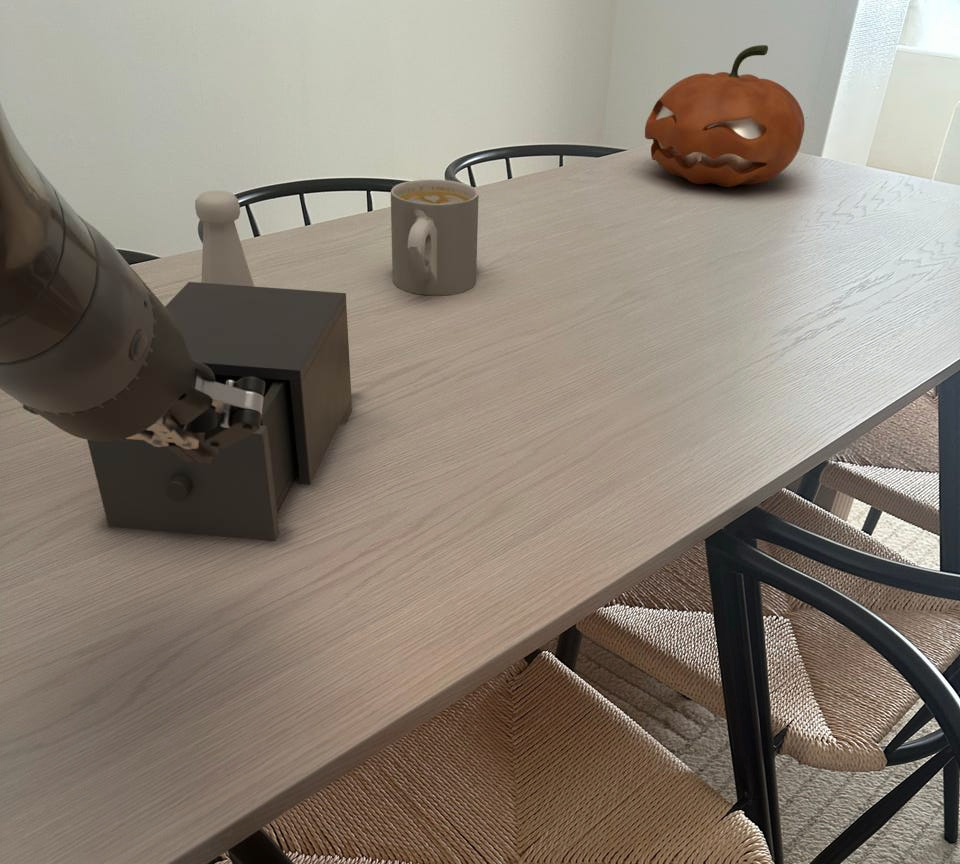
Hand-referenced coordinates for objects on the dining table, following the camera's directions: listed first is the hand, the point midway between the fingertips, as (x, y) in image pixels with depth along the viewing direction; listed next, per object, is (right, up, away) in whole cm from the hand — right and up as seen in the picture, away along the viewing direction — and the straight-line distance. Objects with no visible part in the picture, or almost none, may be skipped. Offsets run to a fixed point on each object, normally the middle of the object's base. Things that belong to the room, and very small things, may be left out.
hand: (201, 446), depth 59 cm
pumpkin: (+54, +62, +98) cm, 128 cm away
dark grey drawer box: (-3, +6, +27) cm, 27 cm away
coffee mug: (+11, +30, +58) cm, 66 cm away
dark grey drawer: (-4, 0, +19) cm, 19 cm away
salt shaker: (-10, +23, +47) cm, 53 cm away
